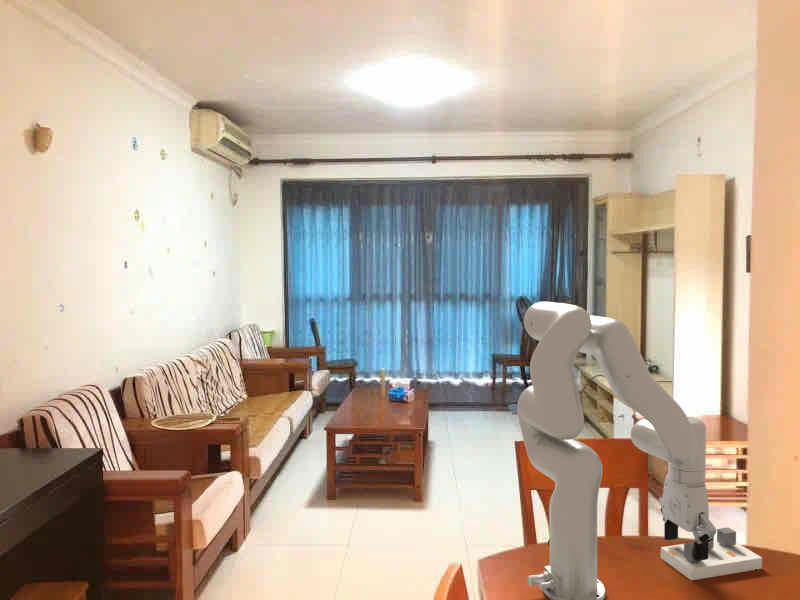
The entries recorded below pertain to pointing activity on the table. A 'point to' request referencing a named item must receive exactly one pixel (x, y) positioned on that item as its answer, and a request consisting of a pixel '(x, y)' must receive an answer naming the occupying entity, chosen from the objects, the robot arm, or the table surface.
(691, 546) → the left switch
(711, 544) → the middle switch
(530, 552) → the table surface
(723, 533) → the right switch
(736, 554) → the switch box
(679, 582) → the table surface
